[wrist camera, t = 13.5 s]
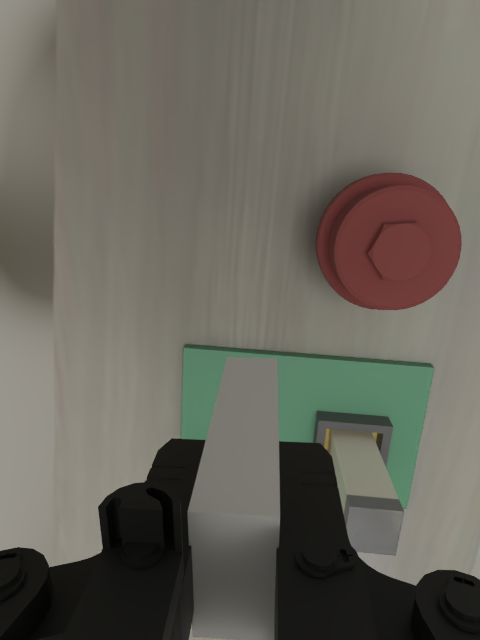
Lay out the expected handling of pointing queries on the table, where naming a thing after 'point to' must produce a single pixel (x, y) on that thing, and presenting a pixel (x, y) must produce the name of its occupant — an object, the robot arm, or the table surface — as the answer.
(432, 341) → the table surface
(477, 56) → the table surface
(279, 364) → the board
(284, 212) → the table surface
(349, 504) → the plug
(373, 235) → the mechanical component
